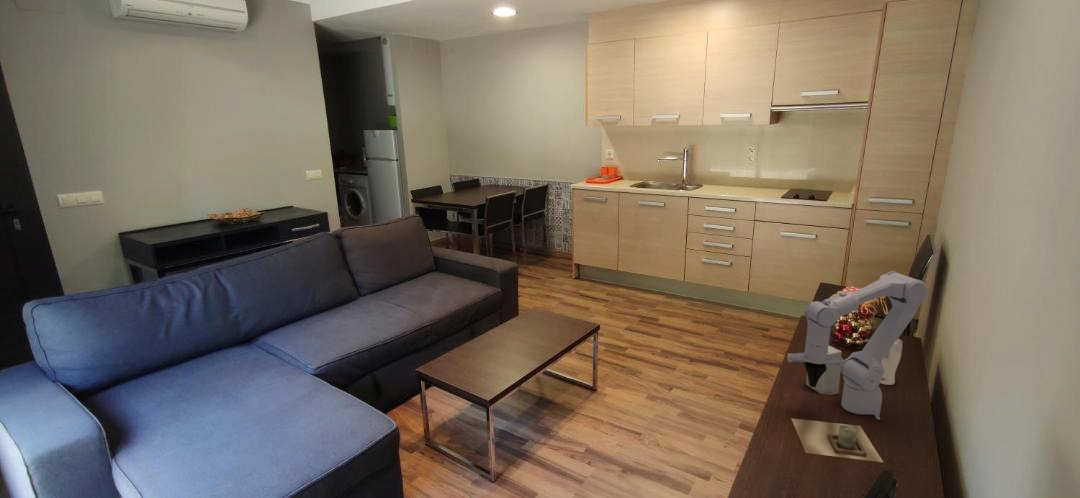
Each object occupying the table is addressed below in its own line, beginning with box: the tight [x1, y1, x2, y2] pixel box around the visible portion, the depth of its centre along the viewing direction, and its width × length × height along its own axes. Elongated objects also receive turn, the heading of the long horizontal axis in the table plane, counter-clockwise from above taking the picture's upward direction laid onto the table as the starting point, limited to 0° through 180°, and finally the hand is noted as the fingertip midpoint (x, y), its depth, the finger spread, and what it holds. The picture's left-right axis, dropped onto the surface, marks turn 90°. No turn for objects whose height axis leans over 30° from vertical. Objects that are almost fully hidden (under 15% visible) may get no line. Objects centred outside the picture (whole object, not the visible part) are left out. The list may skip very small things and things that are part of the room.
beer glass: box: [880, 338, 904, 386], centre depth 163 cm, size 7×7×15 cm
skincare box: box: [805, 345, 843, 396], centre depth 159 cm, size 8×6×15 cm
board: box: [790, 418, 884, 463], centre depth 134 cm, size 18×16×2 cm
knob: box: [837, 425, 857, 450], centre depth 130 cm, size 4×4×5 cm
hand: (812, 385), depth 145 cm, fingers closed
